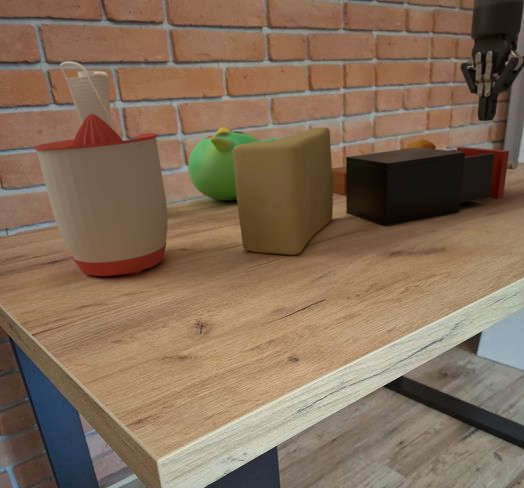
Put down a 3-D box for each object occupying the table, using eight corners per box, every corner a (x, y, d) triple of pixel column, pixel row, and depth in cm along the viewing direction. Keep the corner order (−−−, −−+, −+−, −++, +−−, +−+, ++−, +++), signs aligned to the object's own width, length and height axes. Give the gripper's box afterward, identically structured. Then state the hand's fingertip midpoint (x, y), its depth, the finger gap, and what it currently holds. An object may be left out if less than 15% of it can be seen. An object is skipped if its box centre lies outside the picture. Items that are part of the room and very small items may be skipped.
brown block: (343, 187, 115) (343, 166, 113) (362, 192, 109) (363, 170, 107) (326, 190, 114) (325, 169, 112) (344, 195, 107) (344, 172, 105)
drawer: (477, 186, 100) (482, 143, 97) (523, 194, 91) (531, 147, 87) (399, 199, 95) (400, 155, 91) (439, 209, 85) (443, 160, 82)
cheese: (303, 217, 92) (300, 127, 85) (355, 219, 87) (355, 124, 80) (239, 252, 75) (228, 142, 68) (298, 257, 70) (293, 140, 64)
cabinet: (413, 201, 97) (416, 147, 92) (459, 212, 86) (465, 152, 82) (346, 213, 92) (346, 157, 88) (385, 226, 82) (388, 163, 77)
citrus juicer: (195, 245, 80) (175, 105, 71) (152, 283, 65) (120, 112, 56) (105, 247, 84) (75, 113, 74) (44, 284, 68) (-3, 122, 59)
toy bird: (250, 189, 123) (244, 123, 116) (289, 197, 110) (285, 123, 103) (181, 201, 115) (171, 131, 109) (214, 211, 102) (205, 132, 96)
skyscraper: (98, 228, 97) (61, 60, 84) (93, 221, 104) (57, 64, 91) (142, 221, 100) (112, 57, 87) (134, 214, 106) (105, 61, 94)
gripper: (550, -6, 78) (532, 118, 85) (486, 9, 89) (475, 118, 97) (512, -5, 75) (497, 123, 83) (451, 10, 86) (443, 122, 94)
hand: (485, 120), depth 90 cm, fingers closed
